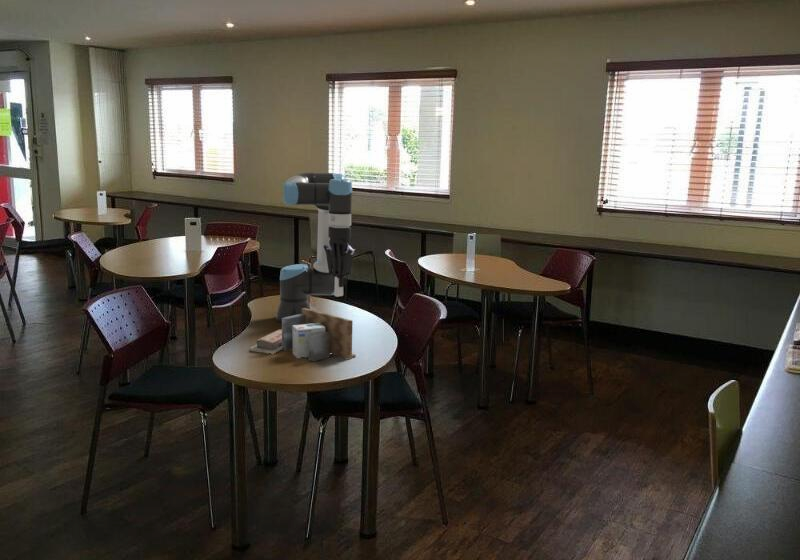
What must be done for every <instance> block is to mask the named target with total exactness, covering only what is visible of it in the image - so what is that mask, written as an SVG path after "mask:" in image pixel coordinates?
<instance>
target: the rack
mask: <svg viewBox="0 0 800 560" xmlns="http://www.w3.org/2000/svg"><path fill="white" fill-rule="evenodd" d="M312 323H321V324H322V325H323V326H325V331H327V332H330V353H332V354H331V355H334V356H337V355H338V356H337V357H341V358H343V357H344V358H343V359H346V358H347V359H346V360H352V358H353V359H355V357H356V356H357V355H356V354H354V353H353V320H352V319H347V318H344V317H341V316H337V315H333V314H329V313H325V312H321V311H317V310H313V309H311V308H310V309H306V308H302V314H298V315H293V316H289V317H285V318H282V322H281V329H282V349H283V350H282V351H284V350H285V351H284V352H289V351H291V349H293V333H292V325H303V324H312ZM288 350H289V351H288ZM356 358H357V357H356Z"/></svg>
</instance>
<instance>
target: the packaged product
mask: <svg viewBox="0 0 800 560" xmlns="http://www.w3.org/2000/svg"><path fill="white" fill-rule="evenodd" d="M249 349H250V351H251V352H256V353H257V352H258V353H262V352H263V353H264V354H269V353H271V354H270V355H275V354H277V353H278V352H280V350H281V349H282V328H281V329H280V328H279V329H277V330H275V331H273V332H271V333H268V334H267V335H265V336H263V337H260V338H258V339H257V340H256V344H255V345H252V346H250V347H249ZM281 351H282V350H281ZM276 352H277V353H276ZM274 353H275V354H274Z"/></svg>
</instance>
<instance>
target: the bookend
mask: <svg viewBox="0 0 800 560" xmlns="http://www.w3.org/2000/svg"><path fill="white" fill-rule="evenodd" d="M329 357H330V358H331V354H330V332H327V331H324V332H320V333H316V334H312V335H309V357H308V361H310V360H311V361H310V362H317V361H321V360H323V358H324V359H327V358H329ZM320 359H321V360H320Z"/></svg>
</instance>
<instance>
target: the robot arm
mask: <svg viewBox="0 0 800 560" xmlns="http://www.w3.org/2000/svg"><path fill="white" fill-rule="evenodd" d="M352 183H353V182H352V180H350V179H347V178H346V177H345V176H344V174H342V173H336V172H301V173H298V174H295V175H291V176H290V177H288V179H286V181H285V182H284V183H283V184H282V185H283V187H282V198H283V199H282V200H283V201H282V203H284V205H291V206H308V205H309V206H314V207H315V208H316V209H317V210H318V212H317V240H316V241H317V243H316V245H317V248H316V250H317V251H316V261H315V262H313V266H312V267H309V266H308V264H307V263H305V264H304V263H299V264H298V263H296V264H291V265H287V266H284V267H282V268H281V269H280V272H279V273H280V275H279V305H278V308H277V311H276V313H275V320H276V321H278V322H280V323H282V318H285V317H289V316H293V315H298V314H302V308H306V309H310V310H311V308H310V305H309V302H308V300H309V299H308V296H334V297H337V298H338V297H343V296H344V287H345V281H346V277H349V276H351V275H350V274H351V270H352V264H353V262H354V261H353V260H354V256H355V253H356V248H353V247H352V246H351V242H350V239H352V227H351V226H352V199H353V198H352V197H353V184H352Z"/></svg>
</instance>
